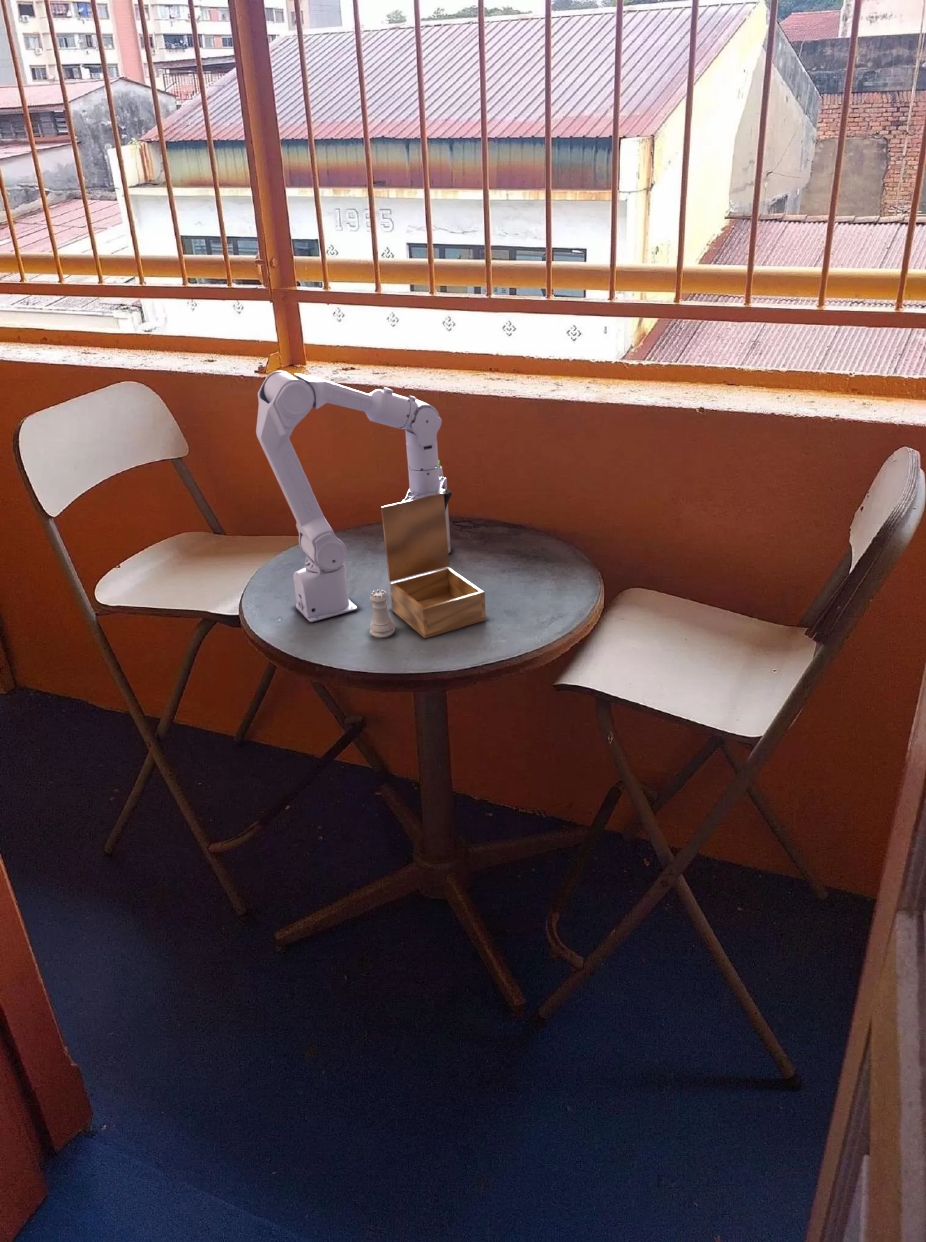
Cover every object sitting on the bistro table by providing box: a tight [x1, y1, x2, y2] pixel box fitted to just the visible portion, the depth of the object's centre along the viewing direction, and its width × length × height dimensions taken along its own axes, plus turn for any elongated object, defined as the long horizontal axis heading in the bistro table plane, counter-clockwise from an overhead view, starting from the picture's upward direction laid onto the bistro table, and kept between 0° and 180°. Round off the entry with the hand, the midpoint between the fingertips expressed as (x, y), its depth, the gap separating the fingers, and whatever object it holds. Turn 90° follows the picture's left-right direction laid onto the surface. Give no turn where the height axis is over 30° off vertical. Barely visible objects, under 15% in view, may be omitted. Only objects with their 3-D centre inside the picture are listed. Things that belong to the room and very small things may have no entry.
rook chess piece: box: [369, 589, 396, 639], centre depth 162 cm, size 4×4×8 cm
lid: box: [380, 493, 450, 583], centre depth 169 cm, size 14×12×1 cm
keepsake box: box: [389, 566, 487, 639], centre depth 168 cm, size 13×12×6 cm
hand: (428, 534), depth 178 cm, fingers open, 7 cm apart
